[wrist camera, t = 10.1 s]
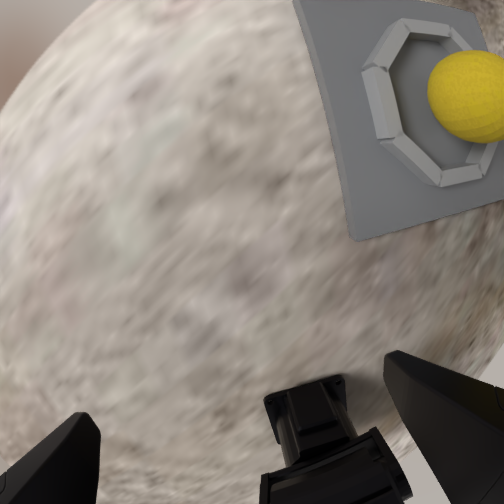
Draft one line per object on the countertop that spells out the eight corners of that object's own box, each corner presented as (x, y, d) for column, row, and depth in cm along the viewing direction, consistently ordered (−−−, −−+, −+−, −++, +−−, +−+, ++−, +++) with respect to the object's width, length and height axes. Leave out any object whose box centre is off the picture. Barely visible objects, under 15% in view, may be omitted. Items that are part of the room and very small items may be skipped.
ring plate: (502, 194, 20) (524, 199, 17) (349, 237, 20) (367, 248, 17) (465, 16, 15) (485, 8, 13) (292, 1, 15) (302, -18, 12)
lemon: (461, 75, 16) (543, 61, 8) (464, 148, 17) (551, 155, 10) (401, 55, 15) (484, 20, 8) (405, 135, 17) (498, 133, 9)
